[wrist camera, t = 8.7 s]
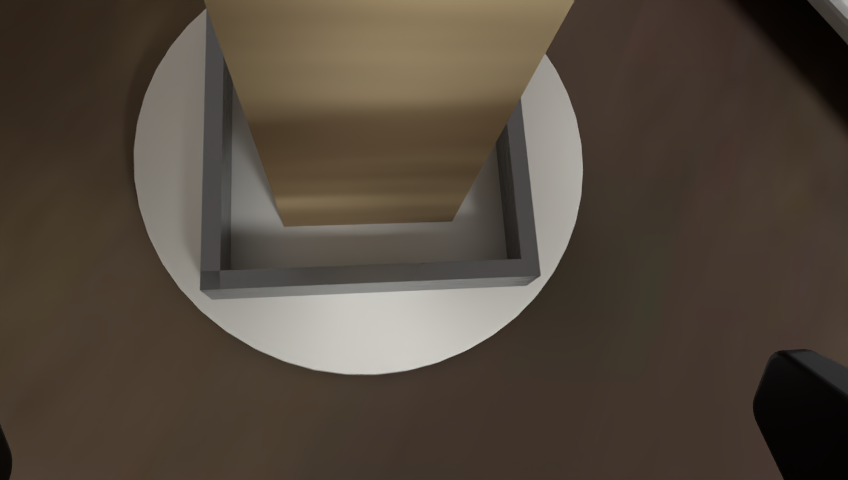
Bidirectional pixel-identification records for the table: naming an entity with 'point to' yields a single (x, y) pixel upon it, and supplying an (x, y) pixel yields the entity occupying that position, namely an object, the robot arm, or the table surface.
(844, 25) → the tray
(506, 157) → the grey square frame
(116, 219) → the table surface
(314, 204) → the wooden block
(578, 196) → the round white plate
